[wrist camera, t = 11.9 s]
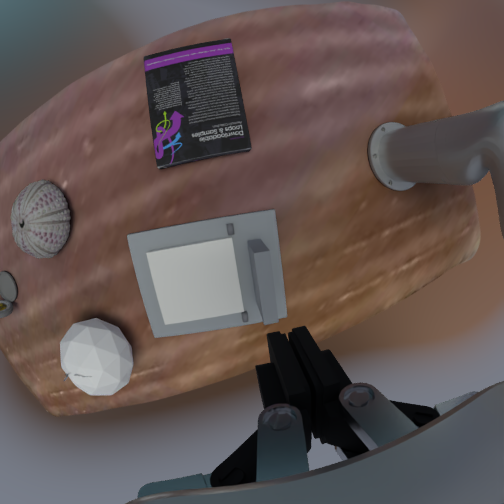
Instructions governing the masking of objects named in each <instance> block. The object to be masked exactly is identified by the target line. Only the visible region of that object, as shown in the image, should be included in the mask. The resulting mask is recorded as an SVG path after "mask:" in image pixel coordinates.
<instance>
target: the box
mask: <svg viewBox="0 0 504 504" xmlns="http://www.w3.org/2000/svg"><path fill="white" fill-rule="evenodd" d="M144 66H145V76H146V86H147V95H148V104H149V113H150V121H151V128H152V135H153V142H154V148H155V155H156V162H157V167H158V169H163V168H167V167H171V166H176V165H180V164H184V163H188V162H193V161H198V160H202V159H207V158H212V157H217V156H222V155H228V154H234V153H241V152H247V151H250V150H251V142H250V137H249V131H248V126H247V121H246V115H245V110H244V105H243V99H242V94H241V89H240V84H239V79H238V73H237V68H236V63H235V58H234V53H233V48H232V43H231V39H229V38H228V39H223V40H217V41H211V42H205V43H199V44H194V45H189V46H184V47H180V48H175V49H171V50H167V51H163V52H160V53H156V54H152V55H148V56H144Z"/></svg>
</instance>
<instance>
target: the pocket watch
mask: <svg viewBox="0 0 504 504" xmlns="http://www.w3.org/2000/svg"><path fill="white" fill-rule="evenodd" d="M0 294H1V296H2V297H3V298H4V299H5V300H0V318H2V317H6V316H8V315H10V314H11V313H12V311H13V305H12V303H11V302H13V301H14V300H15V299H16V297H17V287H16V284H15V281H14V279H13V277H12V276H11V275H10V274H9V273H8V272H5V271H2V272H0ZM4 308H5V309H4Z"/></svg>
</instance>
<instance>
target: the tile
mask: <svg viewBox="0 0 504 504" xmlns="http://www.w3.org/2000/svg"><path fill="white" fill-rule="evenodd" d="M146 254H147V259H148V263H149V267H150V271H151V275H152V279H153V283H154V287H155V291H156V295H157V299H158V302H159V306H160V309H161V313H162V316H163V320H164V323H165V325H168V324H174V323H181V322H187V321H194V320H200V319H206V318H212V317H217V316H223V315H229V314H234V313H239V312H244V307H243V301H242V295H241V290H240V284H239V278H238V272H237V266H236V259H235V253H234V247H233V241H232V237H226V238H220V239H214V240H209V241H203V242H197V243H192V244H186V245H181V246H175V247H170V248H164V249H159V250H154V251H148V252H147V253H146Z"/></svg>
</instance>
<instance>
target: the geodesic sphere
mask: <svg viewBox="0 0 504 504" xmlns="http://www.w3.org/2000/svg"><path fill="white" fill-rule="evenodd" d="M60 353H61V367H62V369H63V370H64V371H65V373H66V374H65V375H66V378H65V379H64V381H65V380H66V379H67V377H69V378H70V379H71V380H72V382H73V383H74V384H75V385H76V386H77V387H78V388H80V389H81V390H83V391H84V392H86V393H88V394H89V395H113V394H114V393H115V392H117V391H118V390H120V389H121V388H122V387H124V386H125V385H126V384H128V382H129V378H130V375H131V371H132V368H133V356H132V347H131V345H130V344H129V342H128V341H127V339H126V338H125V336H124V335H123V333H122V332H121V330H120V329H119V327H117V326H114V325H112V324H110V323H107V322H105V321H103V320H100V319H98V318H94V319H90V320H86V321H82V322H78V323H74V324H73V325H72V326H71V328H70V329H69V330H68V332H67V333H66V334H65V336H64V337H63V339H62V340H61V342H60Z"/></svg>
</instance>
